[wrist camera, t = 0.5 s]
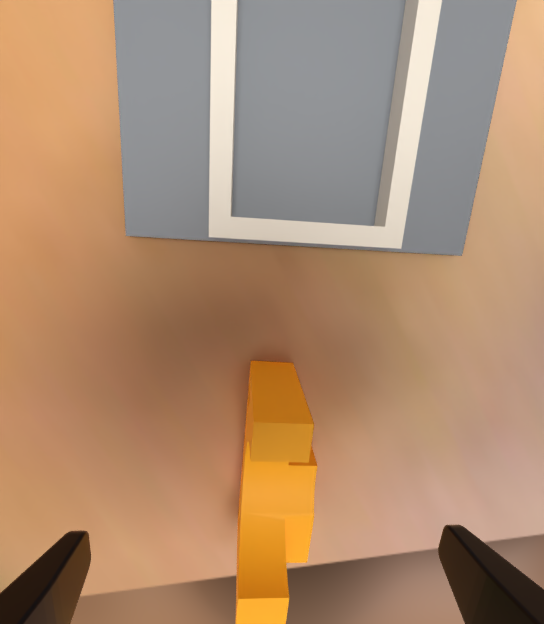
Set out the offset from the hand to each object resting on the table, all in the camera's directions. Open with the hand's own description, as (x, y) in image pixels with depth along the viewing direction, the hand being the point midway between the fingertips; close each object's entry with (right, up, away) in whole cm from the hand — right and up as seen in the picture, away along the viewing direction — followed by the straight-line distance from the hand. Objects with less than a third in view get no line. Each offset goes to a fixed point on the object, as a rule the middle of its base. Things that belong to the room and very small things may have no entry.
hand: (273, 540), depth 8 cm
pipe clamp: (0, -3, +14) cm, 14 cm away
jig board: (+2, +18, +7) cm, 20 cm away
